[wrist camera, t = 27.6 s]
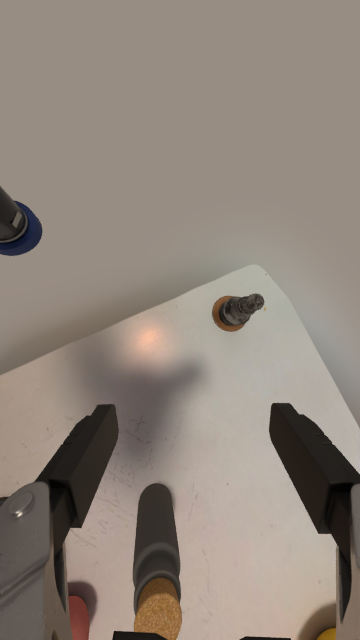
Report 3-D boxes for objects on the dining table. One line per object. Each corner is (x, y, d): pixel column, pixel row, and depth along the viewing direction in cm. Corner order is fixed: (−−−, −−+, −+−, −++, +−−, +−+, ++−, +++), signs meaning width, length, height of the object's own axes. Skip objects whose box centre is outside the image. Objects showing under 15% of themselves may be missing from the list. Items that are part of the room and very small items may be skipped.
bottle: (134, 491, 32) (120, 607, 18) (166, 477, 33) (178, 575, 19) (143, 527, 32) (136, 679, 17) (175, 512, 33) (195, 641, 18)
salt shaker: (247, 319, 41) (286, 306, 29) (225, 332, 39) (257, 323, 28) (234, 296, 41) (267, 275, 29) (212, 308, 40) (237, 290, 28)
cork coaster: (205, 310, 40) (205, 309, 40) (230, 289, 42) (231, 288, 41) (228, 339, 40) (229, 338, 39) (253, 316, 42) (254, 316, 41)
